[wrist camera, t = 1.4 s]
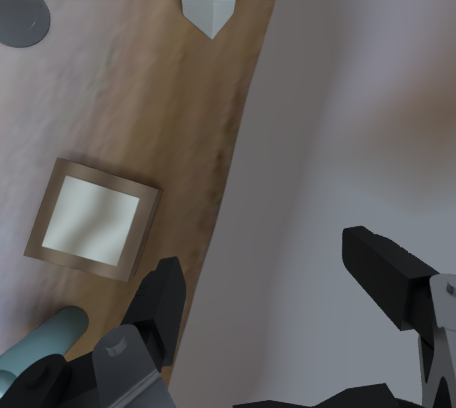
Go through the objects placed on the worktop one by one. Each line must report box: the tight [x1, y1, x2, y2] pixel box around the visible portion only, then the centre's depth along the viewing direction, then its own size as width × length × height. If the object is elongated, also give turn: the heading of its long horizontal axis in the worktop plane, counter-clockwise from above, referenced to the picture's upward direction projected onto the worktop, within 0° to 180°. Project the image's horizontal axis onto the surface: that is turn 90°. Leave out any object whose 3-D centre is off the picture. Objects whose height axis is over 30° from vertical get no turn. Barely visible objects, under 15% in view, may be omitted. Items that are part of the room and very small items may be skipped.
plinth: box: [24, 157, 163, 283], centre depth 32 cm, size 14×14×4 cm
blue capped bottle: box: [0, 306, 89, 399], centre depth 27 cm, size 5×5×14 cm
